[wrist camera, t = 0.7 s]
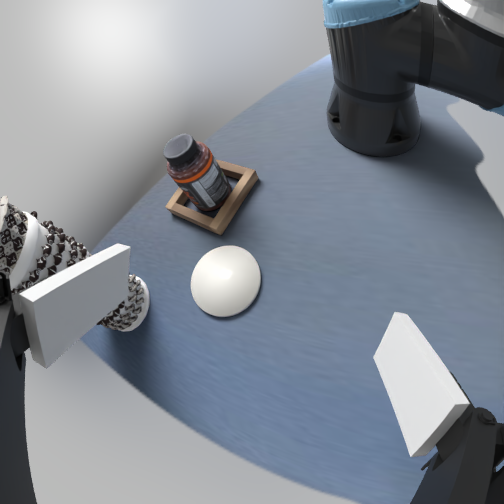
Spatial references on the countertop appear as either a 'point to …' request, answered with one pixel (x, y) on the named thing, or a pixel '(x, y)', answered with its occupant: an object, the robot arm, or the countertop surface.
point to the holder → (229, 207)
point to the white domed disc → (226, 281)
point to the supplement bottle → (196, 172)
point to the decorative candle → (56, 262)
